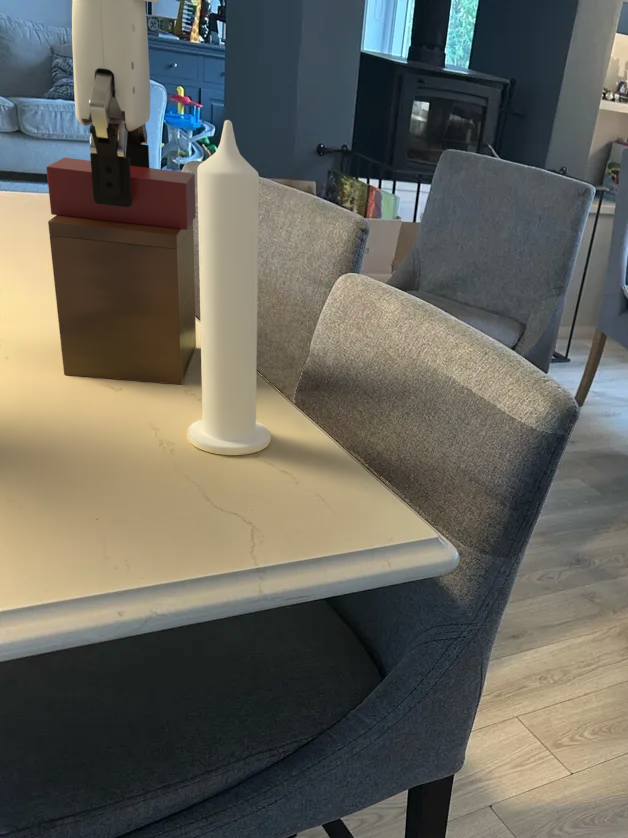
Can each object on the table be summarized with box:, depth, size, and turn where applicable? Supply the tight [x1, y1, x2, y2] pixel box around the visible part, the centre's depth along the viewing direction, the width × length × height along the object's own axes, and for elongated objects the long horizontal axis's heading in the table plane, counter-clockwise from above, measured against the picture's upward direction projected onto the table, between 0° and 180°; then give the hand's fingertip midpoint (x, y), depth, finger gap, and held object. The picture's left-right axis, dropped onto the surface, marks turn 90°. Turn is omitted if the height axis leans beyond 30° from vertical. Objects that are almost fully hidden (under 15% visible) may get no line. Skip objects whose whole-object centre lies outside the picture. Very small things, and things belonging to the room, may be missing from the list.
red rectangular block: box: [46, 157, 197, 230], centre depth 83 cm, size 6×12×4 cm, turn 97°
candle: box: [187, 119, 271, 456], centre depth 71 cm, size 7×7×25 cm
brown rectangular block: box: [47, 215, 197, 385], centre depth 88 cm, size 11×12×14 cm
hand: (123, 196), depth 83 cm, fingers open, 9 cm apart
